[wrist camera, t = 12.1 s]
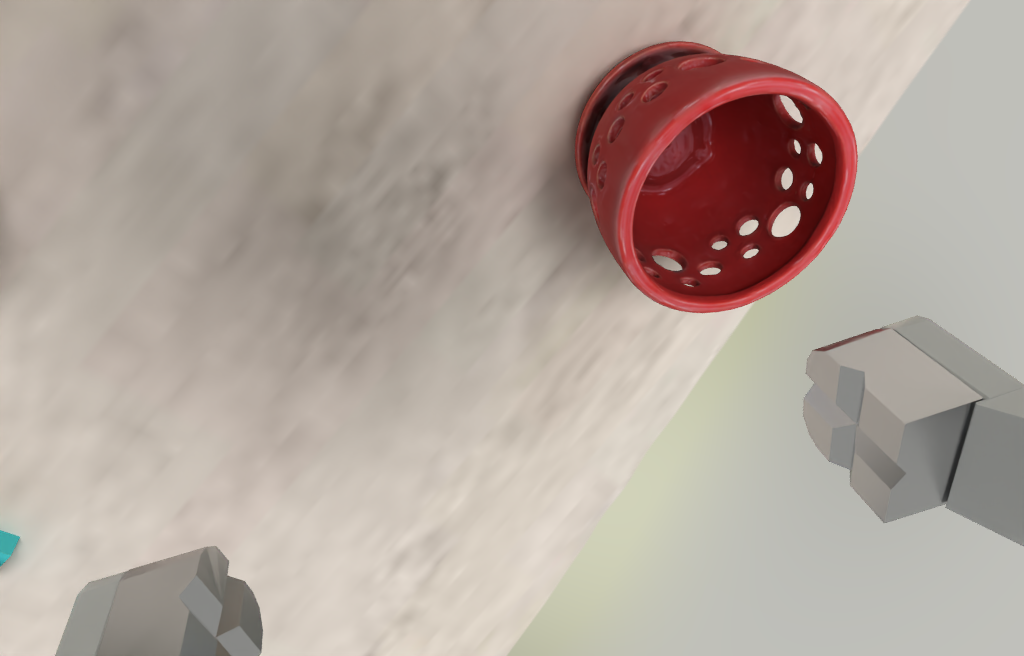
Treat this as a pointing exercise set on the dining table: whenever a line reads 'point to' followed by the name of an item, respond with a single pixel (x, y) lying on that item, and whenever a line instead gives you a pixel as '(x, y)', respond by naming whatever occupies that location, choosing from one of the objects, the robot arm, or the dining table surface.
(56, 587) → the dining table surface
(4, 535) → the chart
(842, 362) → the robot arm
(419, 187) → the dining table surface
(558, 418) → the dining table surface
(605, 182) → the plant pot
